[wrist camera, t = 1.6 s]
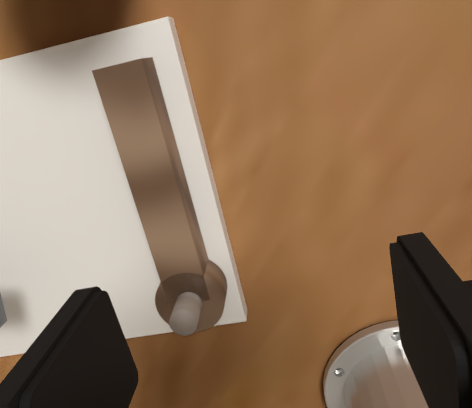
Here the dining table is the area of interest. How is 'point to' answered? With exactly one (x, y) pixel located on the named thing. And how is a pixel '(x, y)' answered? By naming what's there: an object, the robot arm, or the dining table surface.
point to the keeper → (2, 312)
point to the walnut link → (161, 196)
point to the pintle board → (91, 186)
